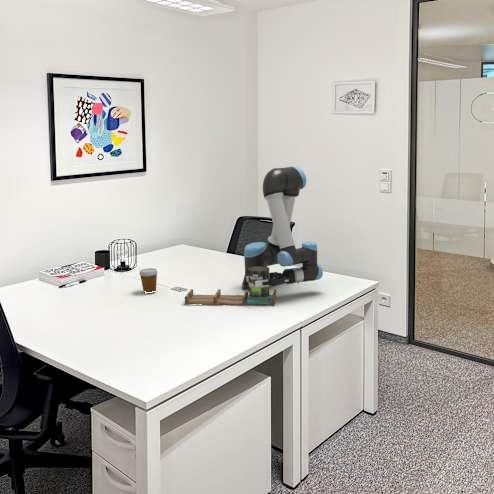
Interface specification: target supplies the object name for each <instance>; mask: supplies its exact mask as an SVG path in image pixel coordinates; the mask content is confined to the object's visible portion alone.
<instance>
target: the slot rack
mask: <svg viewBox="0 0 494 494" xmlns="http://www.w3.org/2000/svg"><path fill="white" fill-rule="evenodd" d="M221 290H222V289H219V288H218V290H217V291H216V293H215V294H194V289H193V288H191V289H190V290H189V292H188V293H187V294H186V295H185V296H184V305H185V304H202V305H201V306H223V305H230V306H234V307H236V306H237V307H239V306H240V307H241V306H243V307H244V306H245V307H251V306H253V307H260V306H261V307H265V306H267V307H274V306H275V304H276V300H277V289H274V290H273V293H272V294H270V297H249V291H248V289H246V290H245V291H244V293H243V294H242V295H241V294H235V295H233V294H222V293H221Z"/></svg>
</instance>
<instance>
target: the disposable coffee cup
mask: <svg viewBox="0 0 494 494" xmlns="http://www.w3.org/2000/svg"><path fill="white" fill-rule="evenodd" d="M158 273H159V271H158V270H157V268H153V267H152V268H151V267H150V268H143V269H140V270H139V276H140V281H141V286H142V290H144V291H146V292H152V291H156V292H157V281H158V279H157V278H158ZM144 291H143V292H144Z"/></svg>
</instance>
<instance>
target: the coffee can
mask: <svg viewBox="0 0 494 494" xmlns="http://www.w3.org/2000/svg"><path fill="white" fill-rule="evenodd" d="M248 272H249V291H248V295H249V297H270V295H271V288H270V286H269V285H268V286H261V287H255V281H261V280H268V281H269V273H270V266H267V267H266V266H253V267H250V268H248Z"/></svg>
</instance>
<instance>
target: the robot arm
mask: <svg viewBox="0 0 494 494" xmlns="http://www.w3.org/2000/svg"><path fill="white" fill-rule="evenodd" d="M306 185H307V175H306V173H305V171H304V170H303V169H302V168H301V167H299V166H287V167H275V168H272V169H270V170H269V171H268V172H267V173H266V174H265V176H264V178H263V181H262V195H263V198H264V199H265V201H267V206H268V209H269V212H270V217H271V220H272V228H271V229H272V230H271V234H270V236H268V238H267V241H266V242H264V241H263V242H262V241H258V242H257V241H256V242H255V241H254V242H252V243H249V244H247V245H245V247H244V251H243V257H244V258H243V260H244V275H243V278H242V279H243V280H242V284H241V288H242V290H245V291H246V289H248V292H249V272H248V268H250V267H253V266H266V267H270V266H275V265H280V266H281V267H282V268H283V267H284V268H285V267H292V266H295V265H300V264H301V265H302V266H300V267H299V266H298V267H292V268H285V269H283V271H282V272H278V271H275V272H269V281H268V280H261V281H255V287H261V286H268V285H269V286H270V289H271V287H276V286H280V285H284V284H286V285H291V284H300V283H307V282H313V281H318V280H321V279H322V277H323V275H324V272H323V268H322V266H321V265H319V264H318V252H319V251H318V244H317V243H316V242H314V241H305V242H302V243H301V247H299V248H296V245H295V242H294V237H293V233H292V230H291V221H292V215H293V211H294V206H295V202H296V198H297V197H299V196H300V192H301V191H300V190H303V189H304V188H305V187H306Z"/></svg>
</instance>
